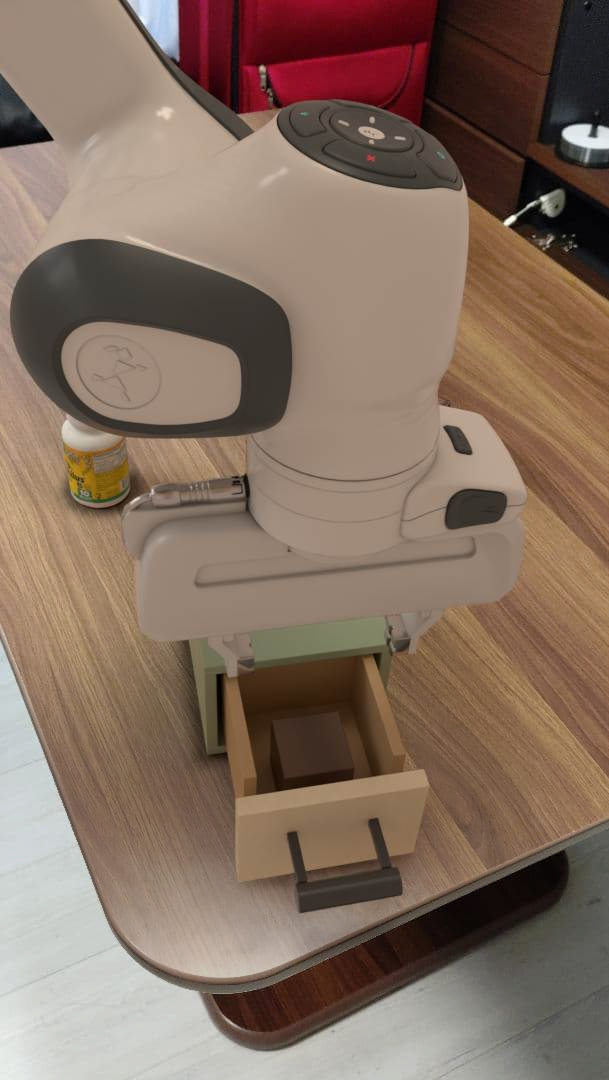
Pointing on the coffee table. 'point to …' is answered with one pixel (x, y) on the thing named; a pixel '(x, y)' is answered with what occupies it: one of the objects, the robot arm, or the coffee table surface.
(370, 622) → the cabinet
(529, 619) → the coffee table surface
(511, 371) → the coffee table surface
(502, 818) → the coffee table surface
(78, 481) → the supplement bottle
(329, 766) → the block
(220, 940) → the coffee table surface
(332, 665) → the drawer
